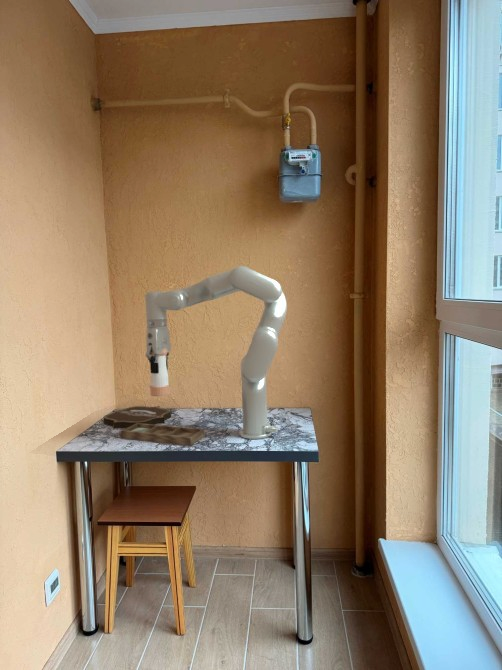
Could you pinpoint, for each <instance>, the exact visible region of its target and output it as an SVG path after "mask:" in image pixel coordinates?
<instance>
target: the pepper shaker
mask: <svg viewBox="0 0 502 670" xmlns="http://www.w3.org/2000/svg"><path fill="white" fill-rule="evenodd" d="M167 352H168V351H167V349H163V350H162V354H161V355H157V356H158V358H157V363H158V369H159V373H151V372H150V388H149V389H150V396H151V397H165V396H169V395H170V394H171V389H170V388H171V386H170V384H169V372H168V370H167V367H166V354H167ZM151 354H154V352H153V351H152V352H151ZM153 357H154V358H155V356H153Z"/></svg>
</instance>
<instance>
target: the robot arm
mask: <svg viewBox="0 0 502 670" xmlns="http://www.w3.org/2000/svg"><path fill="white" fill-rule="evenodd" d="M238 292H243V293H245V294H248V295H249V296H252V297H254V298H256V299H259V300H260V301H263V303H264V310H263V312H262V314H261V317H260V320H259V322H258V325H257V326H256V328H255V331H254V332H253V334H252V337H251V341H250V345H249V347H248V349H247V351H246V354H245V355H244V357H243V358H242V359H241V361H240V376H241V377H240V378H241V380H240V381H241V405H242V406H241V408H242V412H241V413H242V429H240V430H239V433H238V434H239V435H238V436H240V437H242V438H245V439H249V440H258V439H259V440H260V439H265V438H268V437H270V436H271V435H272V433H278V432H279V431H278V430H279V429H278V427H277V426H276V425H271V424H270V423H271V422H270V421H268V405H267V404H268V399H267V398H268V397H267V395H268V392H267V389H268V387H267V373H268V371H269V369H270V367H271V364H272V362H273V360H274V357H275V354H276V352H277V350H278V347H279V338H278V337H279V334H280V332H281V329H282V326H283V325H284V321H285V319H286V315H287V310H288V303H287V298H286V295H285V293H284V292H283V288H282V285H281V284H280V283H279V282H278V281H277V280H275V279H273V278H271V277H269V276H267V275H264V274H262V273H260V272H257V271H255V270H254V269H251V268H249V267H248V266H245V265H239V266H236V267H235V268H233V269H229V270H227V271H223V272H221V273H217V274H214V275H211V276H209V277H206V278H204V279H202V280H201V281H199V282H196V283H194V284H192V285H188V286H186V287H183V288H179V289H174V290H173V289H172V290H168V291H167V290H166V291H156V290H155V291H148V292H146V293H145V295H144V297H145V298H144V299H145V316H146V340H145V342H146V343H145V344H146V345H145V347H146V352H145V357H146V358H147V360H148V362H149V364H150V365H149V366H150V367H149V368H150V374H151V373H159V369H158V363H157V358H158V356H157V355H161V354H162V350H163V349H167V351H168V352H167V354H166V367H167V371H169V370H168V369H169V367H168V360H169V354H170V352H171V351H172V349H171V348H172V347H171V337H170V331H169V327H168V320H167V319H168V318H167V317H168V316H167V311H180V310H184V309H186V308H188V307H192V306H195V305H198V304H201V303H203V302H209V301H214V300H217V299H219V298H222V297H225V296H229V295H232V294H235V293H238ZM152 351H153V352H154V354H151V352H152ZM153 356H155V358H154V357H153Z"/></svg>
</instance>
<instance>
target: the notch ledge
mask: <svg viewBox="0 0 502 670" xmlns="http://www.w3.org/2000/svg"><path fill="white" fill-rule="evenodd" d="M119 433H120V439H124V440H132V441H142V442H149V443H150V442H152V443H159V444H160V443H161V444H169V445H176V444H179V445H178V446H185V445H190V446H189V447H191V445H192V446H194V445H195V444H197V443H198V442H200V441H201V440H203V439H204V438H205V437H206V429H205V428H193V427H184V426H174V425H173V426H172V425H164V424H163V425H162V424H155V425H154V424H143V423H136V424H134V425H132V426H130V427H127V428H122V429H121V430H120V432H119ZM202 438H203V439H202ZM199 440H200V441H199ZM196 442H197V443H196ZM194 443H195V444H194Z"/></svg>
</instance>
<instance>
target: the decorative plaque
mask: <svg viewBox="0 0 502 670" xmlns="http://www.w3.org/2000/svg"><path fill="white" fill-rule="evenodd" d="M171 417H172V410H171V409H169V408H163V407H161V406H160V405H157V406H145V405H134V406H130V407H126V408H122V409H117V410H112V412H111V413H109V414H108V413H107V414H105V415H104V416H103V424H104V425H106V426H110V427H113V430H114V429H125V428H127V427H130V426H132V425H134V424H136V423H143V424H154V425H162V424H165V421H166V420H169V419H171Z"/></svg>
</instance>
